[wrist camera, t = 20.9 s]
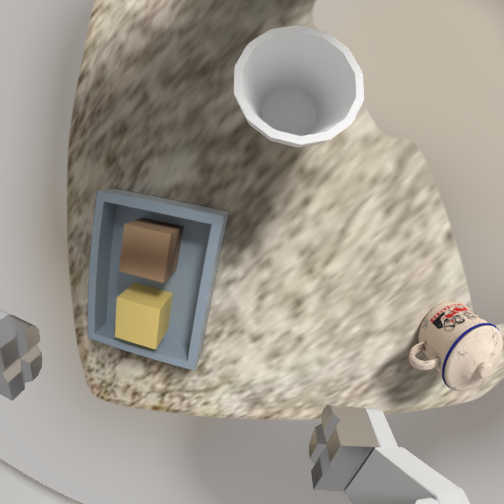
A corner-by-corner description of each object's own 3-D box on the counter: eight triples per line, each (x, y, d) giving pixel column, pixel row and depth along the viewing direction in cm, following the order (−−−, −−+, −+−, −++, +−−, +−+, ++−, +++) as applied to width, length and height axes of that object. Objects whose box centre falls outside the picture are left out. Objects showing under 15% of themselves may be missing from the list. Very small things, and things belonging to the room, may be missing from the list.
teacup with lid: (471, 291, 36) (521, 325, 25) (466, 347, 38) (506, 389, 27) (396, 310, 37) (435, 357, 26) (395, 369, 39) (426, 422, 28)
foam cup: (255, 163, 34) (248, 155, 22) (237, 84, 32) (220, 39, 20) (339, 147, 33) (378, 132, 21) (320, 70, 32) (345, 20, 19)
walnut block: (142, 217, 35) (124, 223, 30) (183, 226, 35) (170, 234, 30) (136, 259, 36) (119, 271, 32) (176, 269, 36) (163, 282, 32)
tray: (115, 188, 36) (97, 190, 31) (229, 211, 36) (223, 216, 31) (103, 323, 40) (87, 337, 35) (201, 351, 40) (194, 370, 35)
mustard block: (134, 282, 37) (117, 297, 32) (173, 293, 37) (160, 309, 32) (131, 319, 38) (115, 336, 33) (168, 329, 38) (155, 349, 33)
